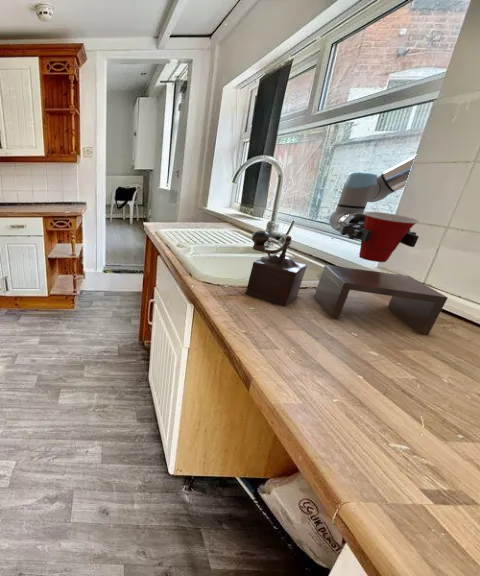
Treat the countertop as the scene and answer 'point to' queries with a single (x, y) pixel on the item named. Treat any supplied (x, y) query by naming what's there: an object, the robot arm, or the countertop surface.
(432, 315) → the shelf
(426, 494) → the countertop surface
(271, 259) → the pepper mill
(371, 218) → the plastic cup
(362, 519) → the countertop surface
